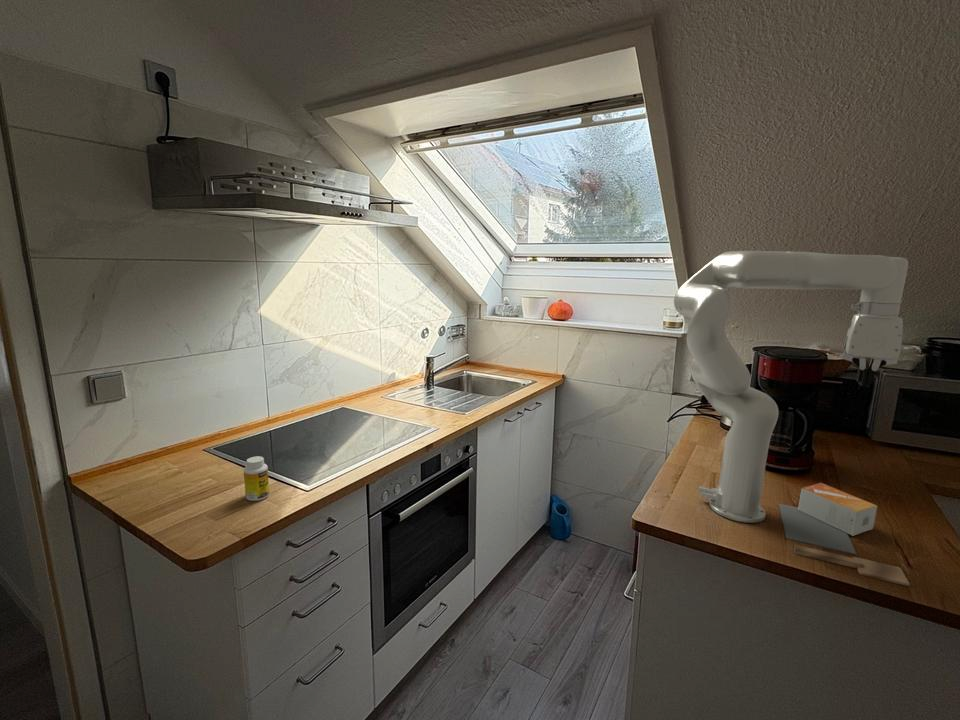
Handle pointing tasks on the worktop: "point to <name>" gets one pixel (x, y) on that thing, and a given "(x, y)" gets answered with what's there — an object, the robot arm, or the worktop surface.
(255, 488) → the supplement bottle
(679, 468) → the worktop surface
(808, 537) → the mat
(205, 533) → the worktop surface
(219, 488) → the worktop surface
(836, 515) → the small box
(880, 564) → the light wooden turner
